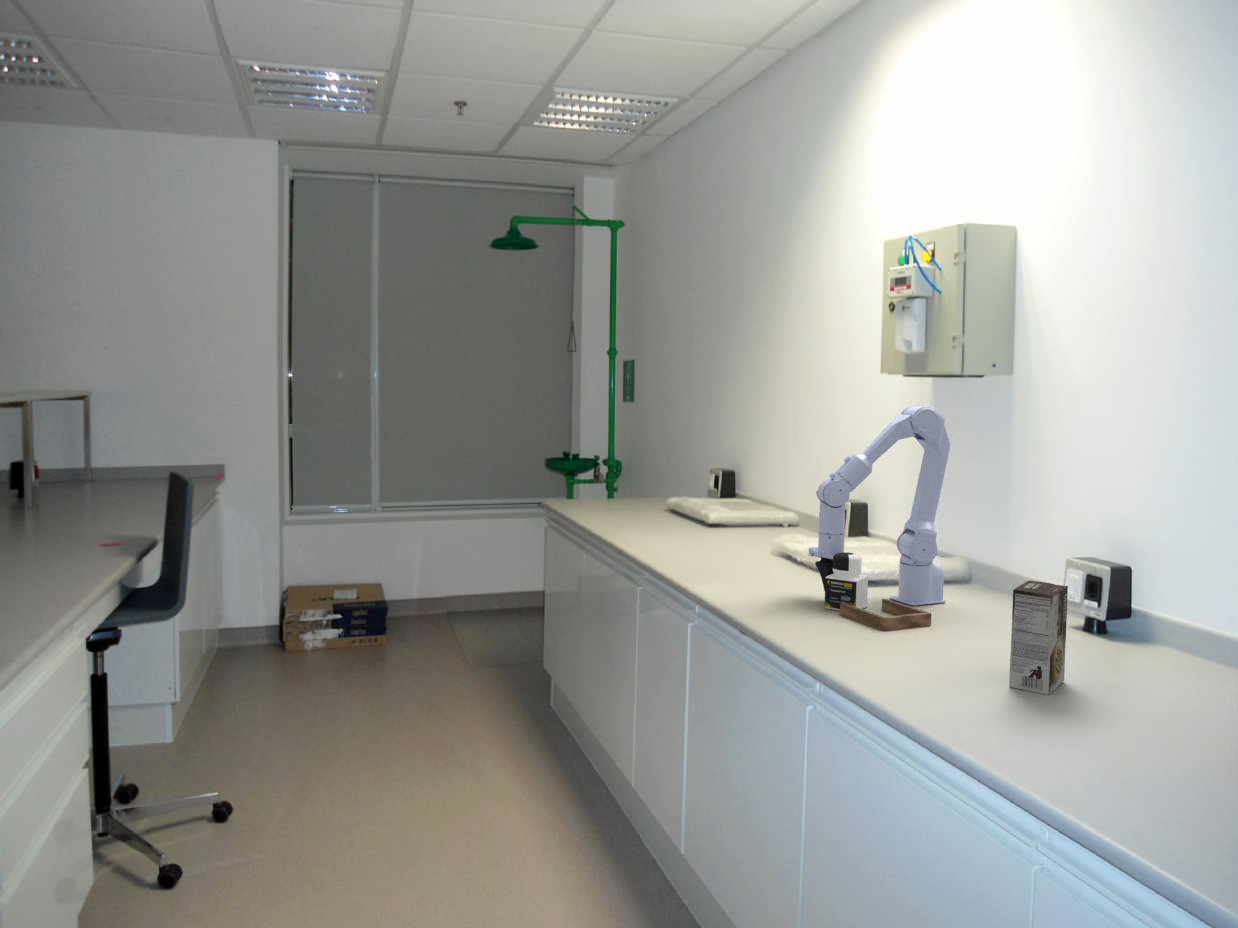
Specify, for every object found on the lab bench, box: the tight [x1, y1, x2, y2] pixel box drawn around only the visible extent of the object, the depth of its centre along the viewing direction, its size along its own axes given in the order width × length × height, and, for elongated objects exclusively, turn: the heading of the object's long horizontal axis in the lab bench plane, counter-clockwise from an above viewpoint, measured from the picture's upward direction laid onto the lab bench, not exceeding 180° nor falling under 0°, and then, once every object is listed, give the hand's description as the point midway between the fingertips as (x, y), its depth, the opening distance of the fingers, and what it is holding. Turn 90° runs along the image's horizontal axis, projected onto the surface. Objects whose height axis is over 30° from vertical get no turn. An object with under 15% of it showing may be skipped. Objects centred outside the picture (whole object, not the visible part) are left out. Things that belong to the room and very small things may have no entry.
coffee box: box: [1008, 580, 1069, 696], centre depth 150 cm, size 9×6×16 cm
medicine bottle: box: [824, 551, 869, 612], centre depth 202 cm, size 7×7×12 cm
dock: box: [839, 598, 932, 632], centre depth 192 cm, size 12×14×2 cm
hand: (829, 592), depth 209 cm, fingers closed
